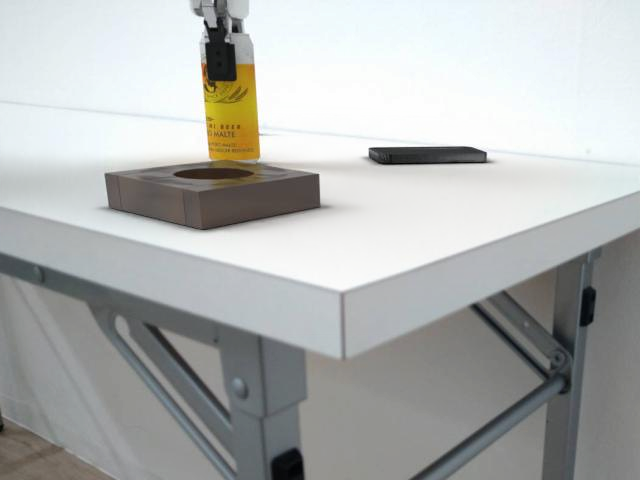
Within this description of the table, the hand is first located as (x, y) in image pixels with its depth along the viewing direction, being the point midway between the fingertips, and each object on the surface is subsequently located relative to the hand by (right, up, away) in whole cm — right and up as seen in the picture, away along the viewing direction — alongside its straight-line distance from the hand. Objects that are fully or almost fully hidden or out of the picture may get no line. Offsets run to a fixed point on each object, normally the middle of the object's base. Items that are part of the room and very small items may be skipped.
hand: (229, 78), depth 88 cm
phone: (+23, -7, +13) cm, 27 cm away
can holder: (+5, -19, -21) cm, 29 cm away
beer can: (0, -10, +4) cm, 10 cm away
